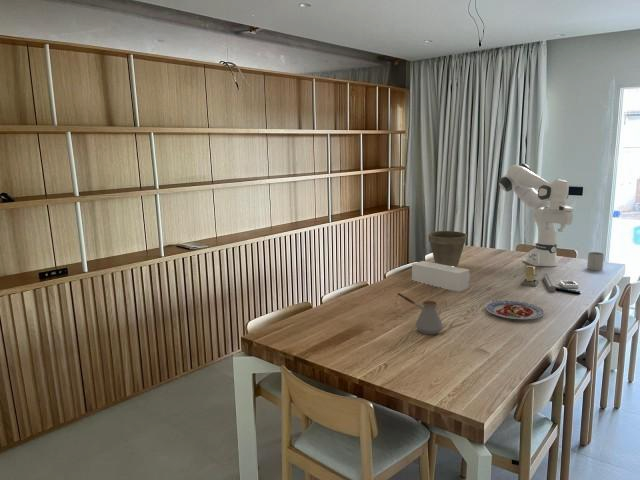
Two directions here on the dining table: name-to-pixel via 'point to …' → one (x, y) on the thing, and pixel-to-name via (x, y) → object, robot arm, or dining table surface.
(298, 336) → the dining table surface
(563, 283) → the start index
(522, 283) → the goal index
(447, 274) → the white rectangular block
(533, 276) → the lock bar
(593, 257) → the cup
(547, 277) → the long grey bar
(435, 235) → the plant pot
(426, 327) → the coffee pot
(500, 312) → the ceramic plate
